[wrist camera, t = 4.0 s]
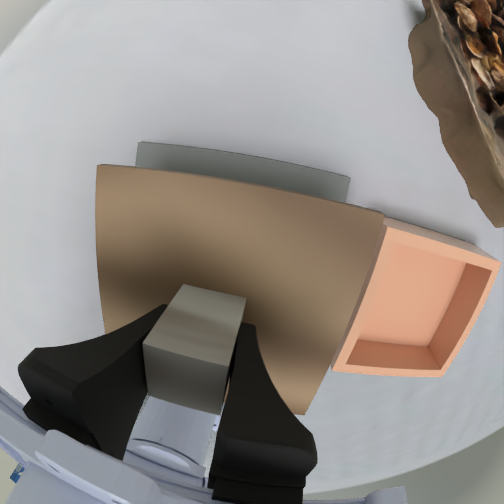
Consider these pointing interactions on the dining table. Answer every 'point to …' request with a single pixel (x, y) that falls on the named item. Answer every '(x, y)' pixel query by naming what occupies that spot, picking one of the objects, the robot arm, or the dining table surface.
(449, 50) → the food dish
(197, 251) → the lid
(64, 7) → the dining table surface
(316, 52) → the dining table surface
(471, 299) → the pink shallow tray
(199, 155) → the mat
